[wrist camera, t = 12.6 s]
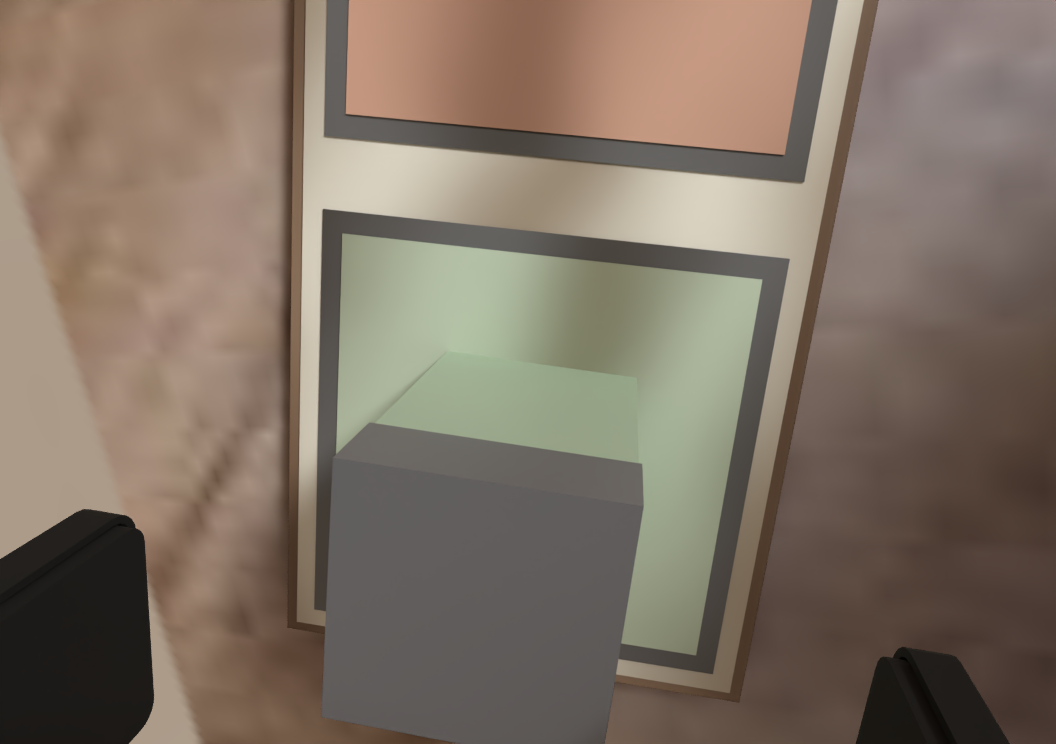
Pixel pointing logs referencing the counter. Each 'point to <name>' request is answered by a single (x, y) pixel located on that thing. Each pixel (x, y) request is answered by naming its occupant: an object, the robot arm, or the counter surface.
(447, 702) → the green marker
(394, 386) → the picture board
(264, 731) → the counter surface
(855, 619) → the counter surface
